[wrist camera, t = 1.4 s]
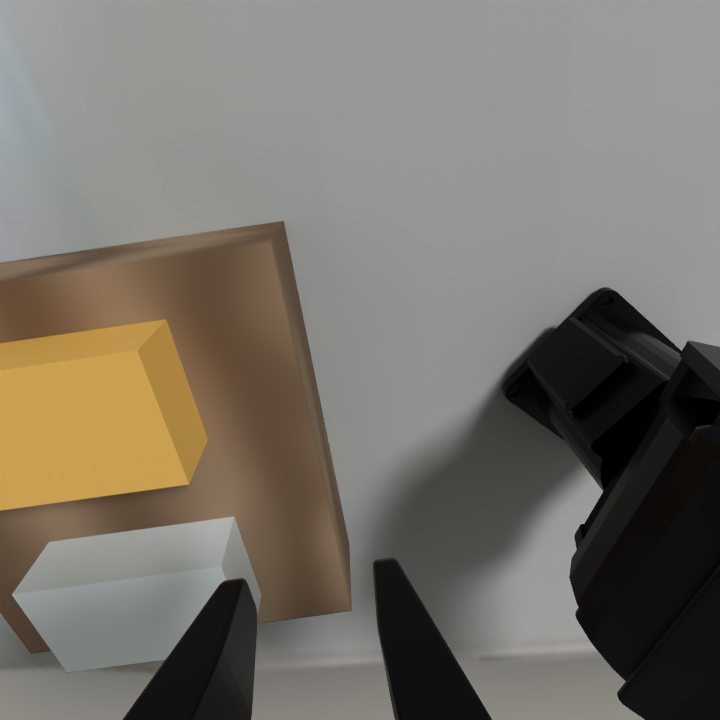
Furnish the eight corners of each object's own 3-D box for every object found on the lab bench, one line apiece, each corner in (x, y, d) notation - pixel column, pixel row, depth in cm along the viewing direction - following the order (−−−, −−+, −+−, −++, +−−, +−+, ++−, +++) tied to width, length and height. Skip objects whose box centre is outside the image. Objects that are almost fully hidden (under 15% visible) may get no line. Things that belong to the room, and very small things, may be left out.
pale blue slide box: (234, 516, 19) (221, 566, 17) (261, 594, 22) (252, 648, 19) (48, 541, 20) (11, 594, 17) (94, 617, 22) (67, 672, 19)
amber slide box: (166, 319, 15) (137, 350, 13) (207, 439, 18) (188, 484, 15) (-66, 352, 16) (-134, 389, 13) (4, 468, 18) (-44, 516, 15)
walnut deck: (283, 221, 18) (270, 242, 14) (349, 545, 26) (351, 610, 22) (-113, 279, 18) (-222, 314, 15) (72, 582, 26) (31, 653, 23)
